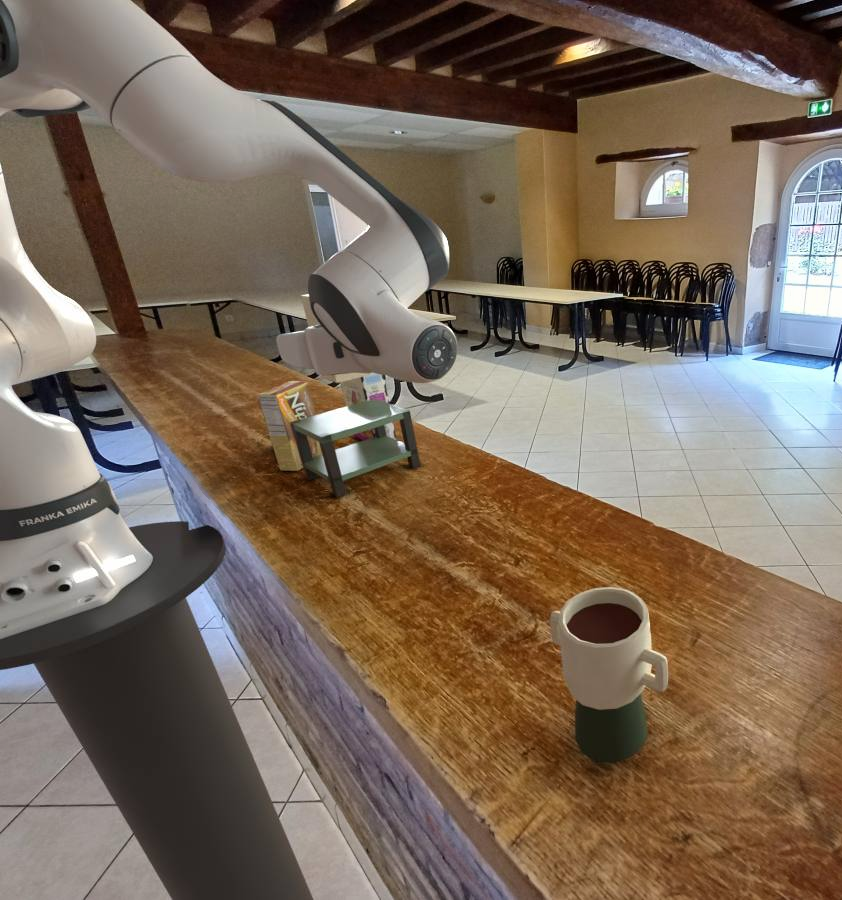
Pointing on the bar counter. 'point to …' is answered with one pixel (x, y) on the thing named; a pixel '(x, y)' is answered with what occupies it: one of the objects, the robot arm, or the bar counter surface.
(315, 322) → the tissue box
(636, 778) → the bar counter surface
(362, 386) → the candy bar box
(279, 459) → the candy box
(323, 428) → the rack
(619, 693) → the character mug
